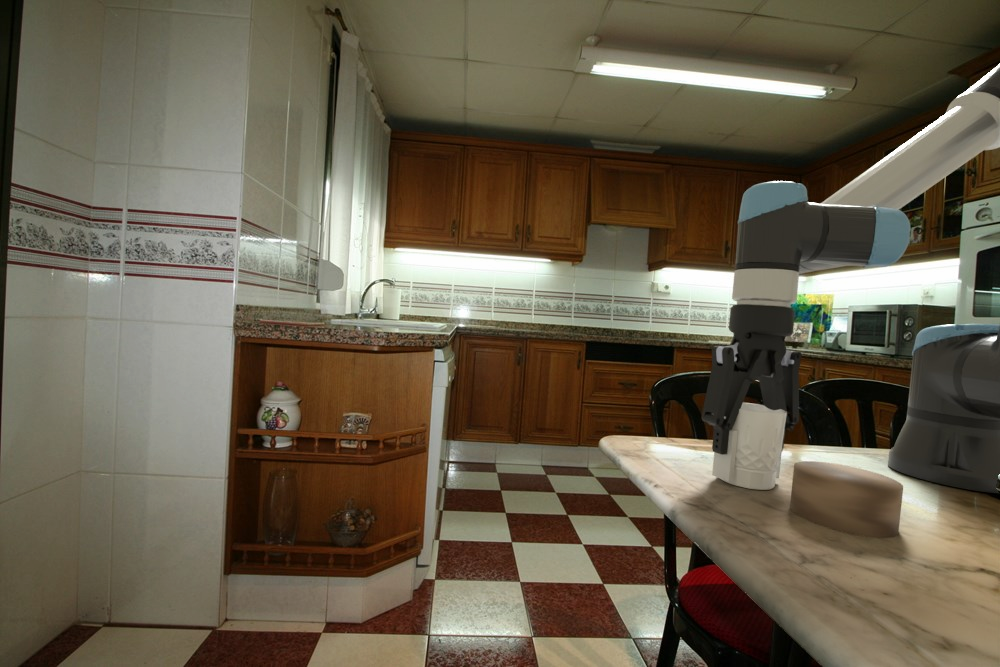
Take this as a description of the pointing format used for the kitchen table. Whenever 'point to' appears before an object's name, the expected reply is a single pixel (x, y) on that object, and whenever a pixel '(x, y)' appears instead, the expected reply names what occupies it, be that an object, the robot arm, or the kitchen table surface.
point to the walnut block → (847, 499)
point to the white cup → (758, 446)
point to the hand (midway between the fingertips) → (745, 476)
